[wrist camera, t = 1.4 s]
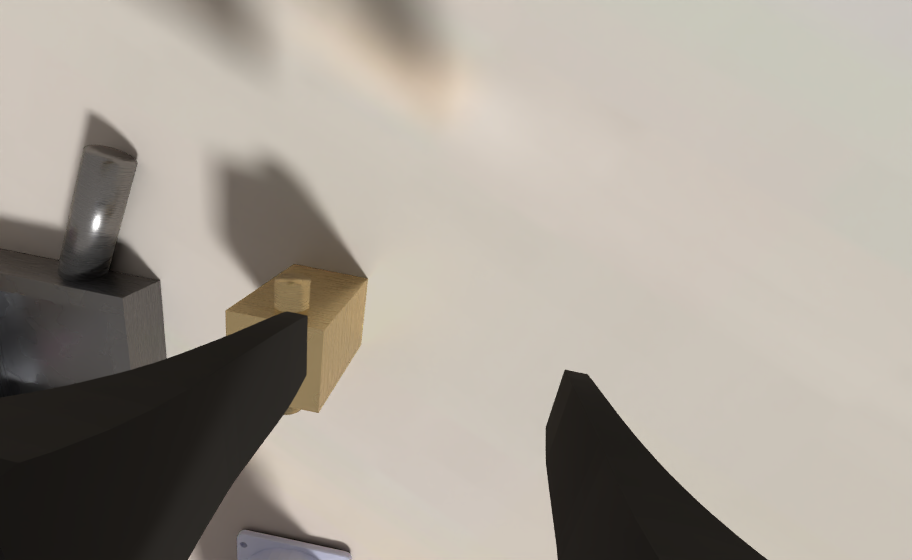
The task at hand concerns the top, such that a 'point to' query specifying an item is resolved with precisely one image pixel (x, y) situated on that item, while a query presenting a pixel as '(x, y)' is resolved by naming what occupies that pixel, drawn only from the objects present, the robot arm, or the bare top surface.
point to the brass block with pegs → (311, 323)
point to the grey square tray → (73, 325)
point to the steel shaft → (96, 213)
